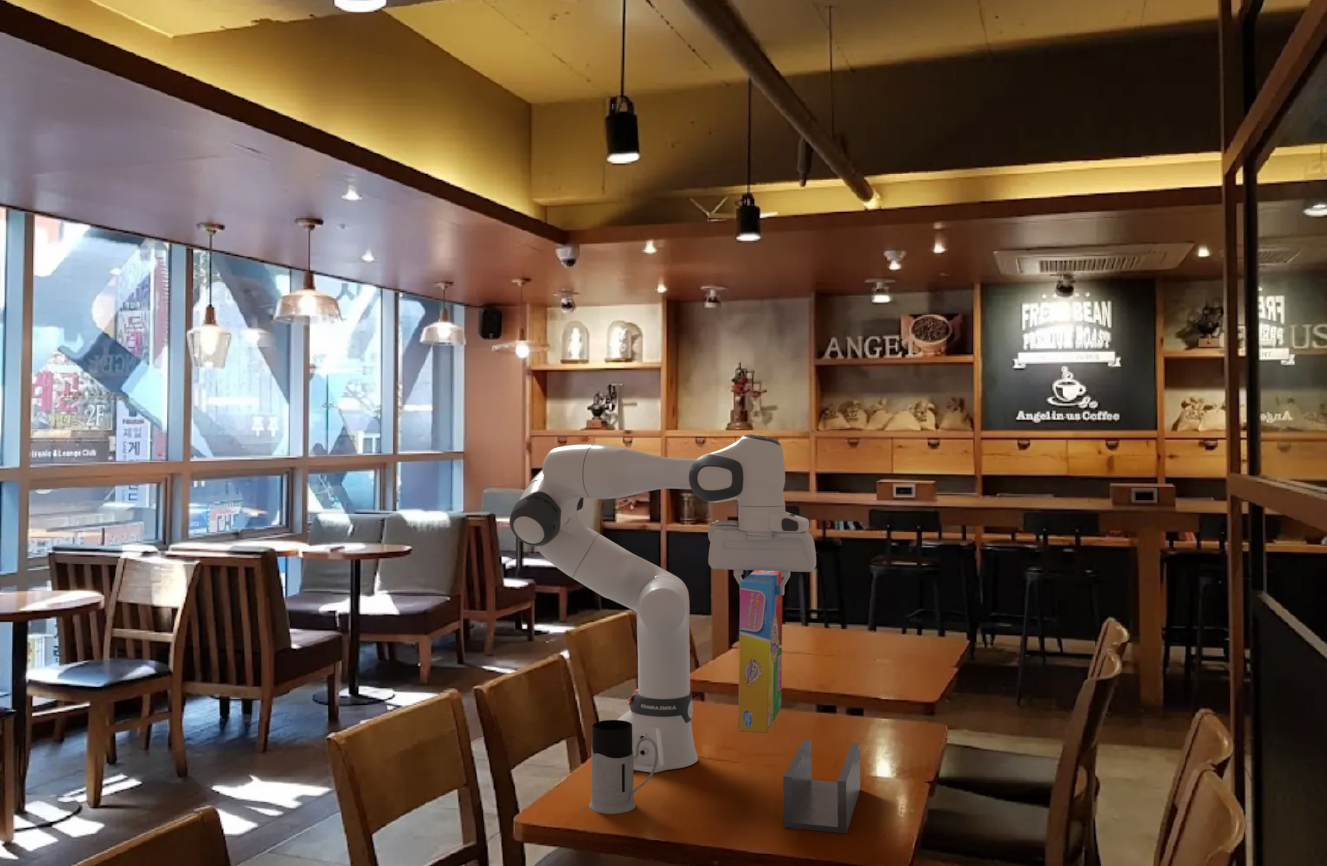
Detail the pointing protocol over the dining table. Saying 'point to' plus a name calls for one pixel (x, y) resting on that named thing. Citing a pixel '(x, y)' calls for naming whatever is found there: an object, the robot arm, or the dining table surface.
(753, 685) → the game box
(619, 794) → the glass holder
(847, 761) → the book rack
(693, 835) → the dining table surface
